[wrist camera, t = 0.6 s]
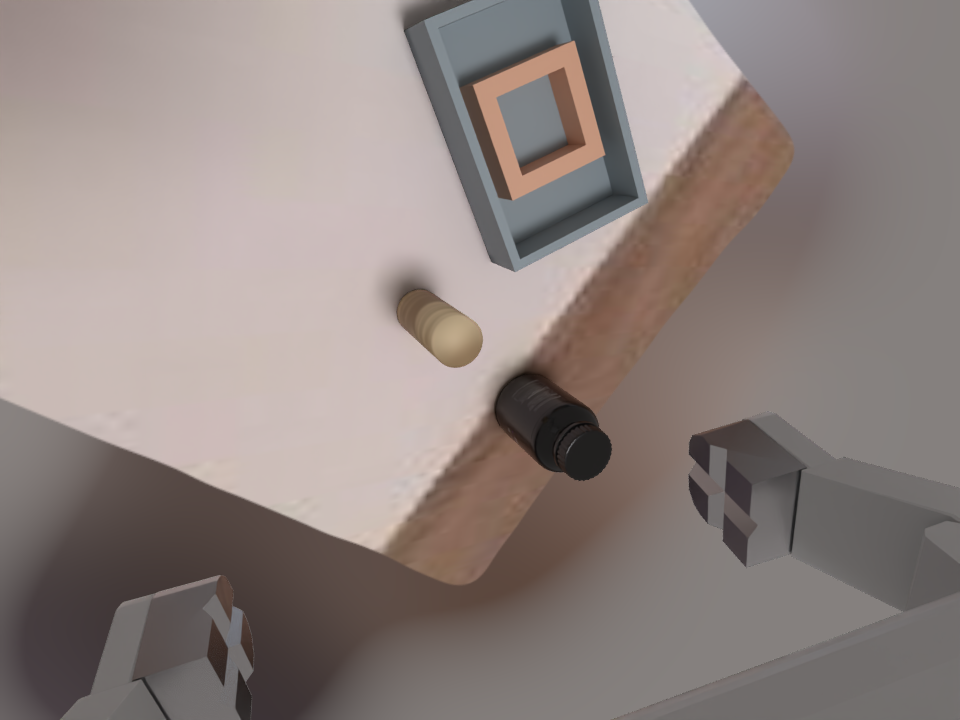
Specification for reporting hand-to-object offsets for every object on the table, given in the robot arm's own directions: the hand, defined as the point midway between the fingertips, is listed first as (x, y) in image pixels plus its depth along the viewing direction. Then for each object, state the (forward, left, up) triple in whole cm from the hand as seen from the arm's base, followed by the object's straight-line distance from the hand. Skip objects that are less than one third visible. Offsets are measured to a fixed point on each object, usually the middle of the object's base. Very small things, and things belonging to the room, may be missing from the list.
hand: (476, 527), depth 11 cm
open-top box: (+1, +24, -45) cm, 50 cm away
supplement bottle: (+26, +15, -45) cm, 54 cm away
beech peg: (+12, +9, -45) cm, 47 cm away
